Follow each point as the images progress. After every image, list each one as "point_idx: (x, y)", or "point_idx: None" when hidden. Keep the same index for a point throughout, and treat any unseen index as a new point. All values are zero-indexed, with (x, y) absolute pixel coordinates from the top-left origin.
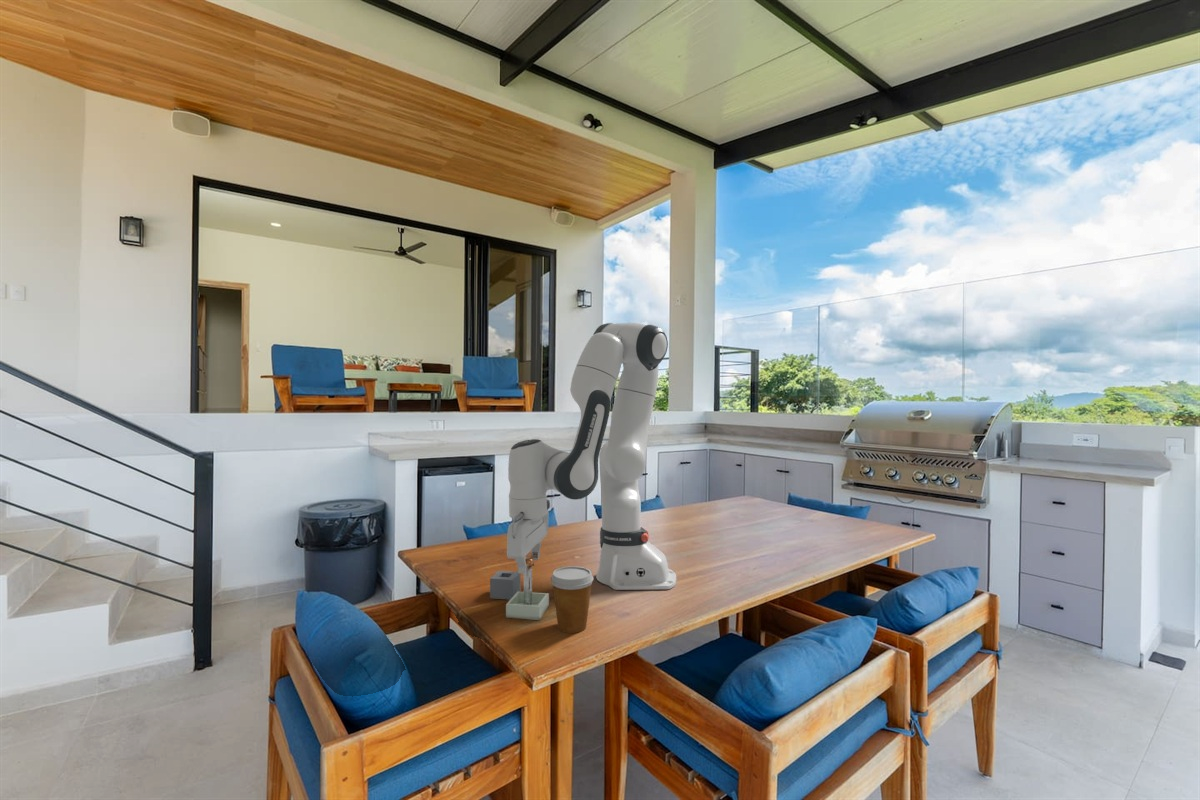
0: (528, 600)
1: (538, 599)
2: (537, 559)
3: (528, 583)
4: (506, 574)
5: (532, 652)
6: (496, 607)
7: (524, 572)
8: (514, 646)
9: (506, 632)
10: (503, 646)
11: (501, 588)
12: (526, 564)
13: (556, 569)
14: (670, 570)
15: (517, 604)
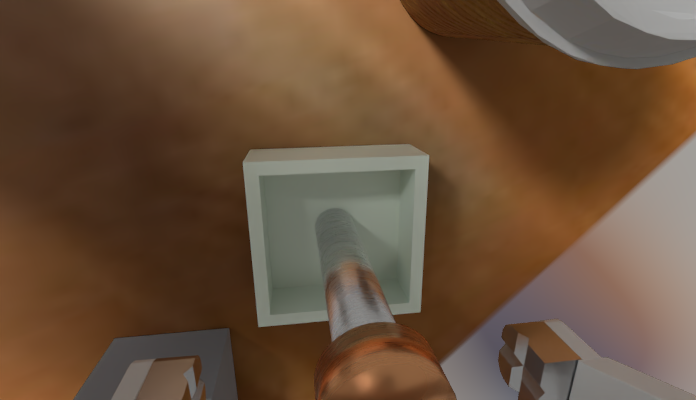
0: (358, 235)
1: (263, 206)
2: (198, 356)
3: (376, 278)
4: None
5: (670, 80)
6: (320, 352)
7: (558, 326)
8: (625, 161)
9: (524, 229)
10: (623, 198)
11: None
12: (550, 366)
13: (630, 24)
14: None
15: (414, 265)
